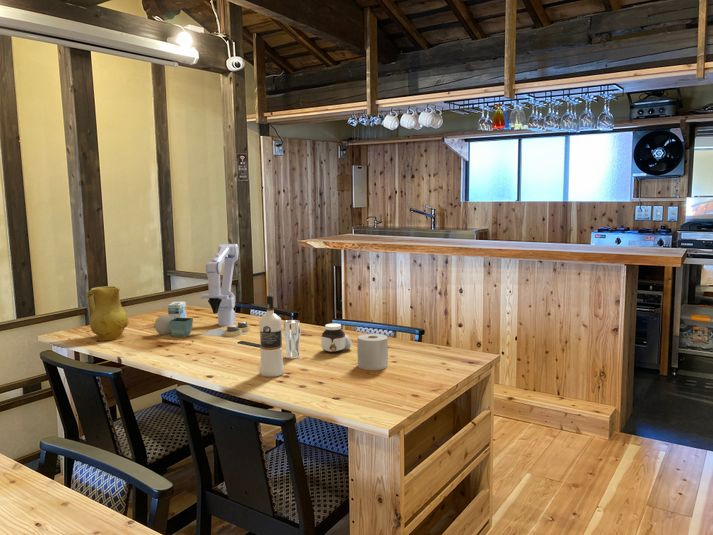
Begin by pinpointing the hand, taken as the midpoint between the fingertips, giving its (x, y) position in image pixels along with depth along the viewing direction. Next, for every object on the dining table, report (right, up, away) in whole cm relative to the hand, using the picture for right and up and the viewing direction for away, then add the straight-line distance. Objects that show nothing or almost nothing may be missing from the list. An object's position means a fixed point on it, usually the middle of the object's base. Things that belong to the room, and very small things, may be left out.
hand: (215, 313), depth 284 cm
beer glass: (+43, -15, -43) cm, 63 cm away
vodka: (+38, -18, -66) cm, 78 cm away
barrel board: (+6, -10, -3) cm, 12 cm away
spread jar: (+61, -14, -34) cm, 72 cm away
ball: (-24, -11, -2) cm, 26 cm away
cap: (+10, -10, -7) cm, 16 cm away
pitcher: (-50, -11, -5) cm, 52 cm away
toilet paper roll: (+76, -16, -57) cm, 97 cm away
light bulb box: (-27, -7, +26) cm, 38 cm away
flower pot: (-14, -11, -8) cm, 20 cm away
